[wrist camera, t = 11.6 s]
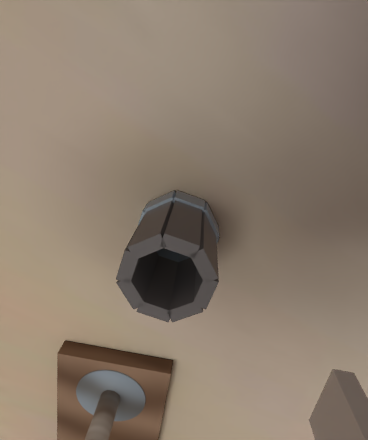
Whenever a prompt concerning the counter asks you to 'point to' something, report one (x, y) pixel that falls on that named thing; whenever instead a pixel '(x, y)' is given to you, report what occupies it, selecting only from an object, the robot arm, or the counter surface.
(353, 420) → the robot arm
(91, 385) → the pin board
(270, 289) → the counter surface
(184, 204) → the grey octagonal sleeve
